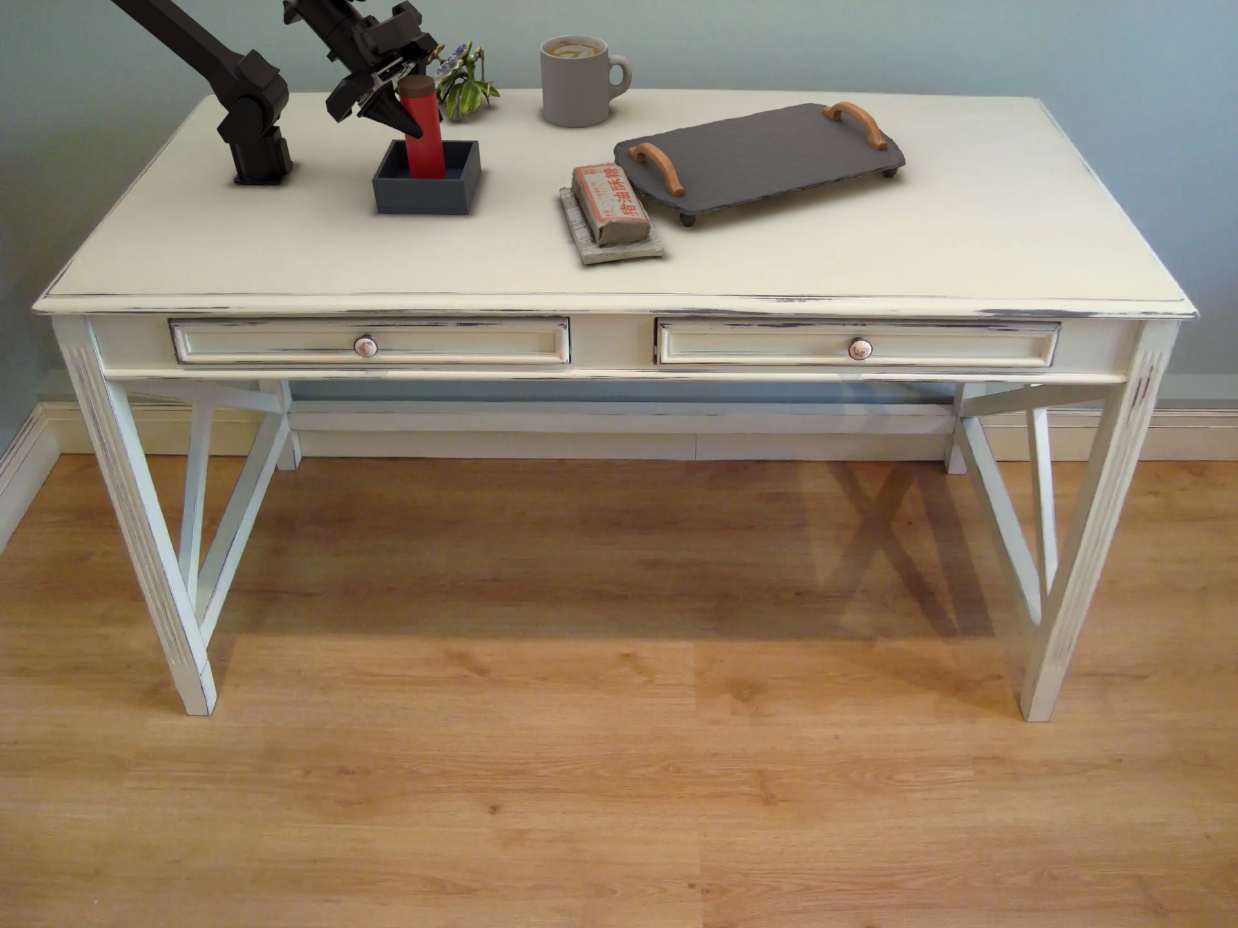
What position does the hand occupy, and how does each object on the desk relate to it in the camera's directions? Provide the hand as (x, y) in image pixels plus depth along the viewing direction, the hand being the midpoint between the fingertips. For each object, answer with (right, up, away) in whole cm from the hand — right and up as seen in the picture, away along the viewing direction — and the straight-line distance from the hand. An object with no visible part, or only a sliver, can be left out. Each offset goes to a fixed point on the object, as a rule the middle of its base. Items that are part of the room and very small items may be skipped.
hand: (431, 129), depth 130 cm
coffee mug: (+19, +11, +25) cm, 34 cm away
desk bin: (-1, -6, +6) cm, 9 cm away
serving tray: (+43, -3, +10) cm, 44 cm away
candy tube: (-1, -5, +5) cm, 7 cm away
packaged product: (+23, -13, -1) cm, 26 cm away
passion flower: (0, +12, +28) cm, 30 cm away
